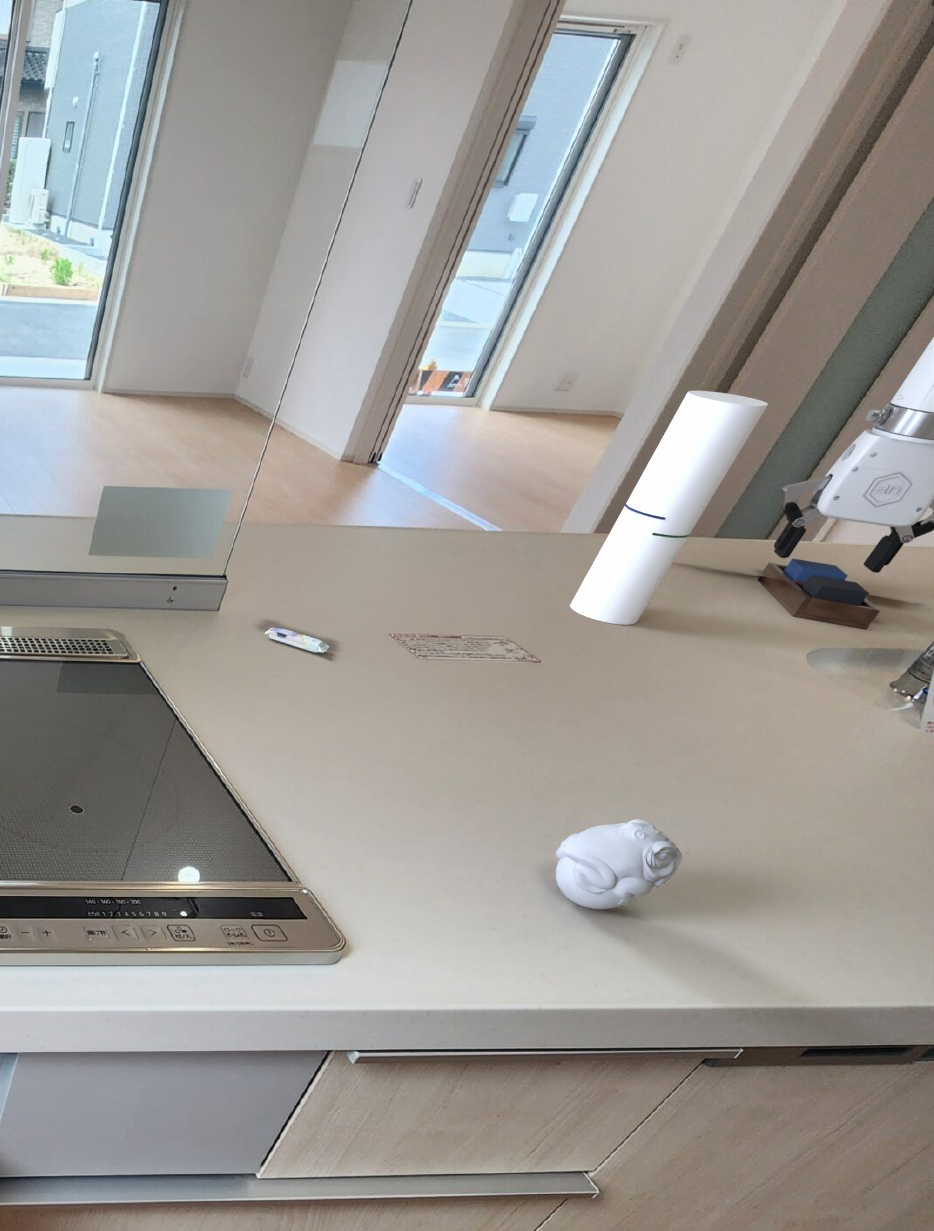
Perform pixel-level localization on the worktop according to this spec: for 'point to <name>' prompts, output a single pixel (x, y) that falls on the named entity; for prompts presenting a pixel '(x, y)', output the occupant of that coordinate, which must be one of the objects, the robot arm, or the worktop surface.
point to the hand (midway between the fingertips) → (824, 562)
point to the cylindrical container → (666, 504)
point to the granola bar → (297, 639)
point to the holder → (814, 601)
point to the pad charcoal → (834, 590)
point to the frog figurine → (615, 863)
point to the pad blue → (812, 570)
